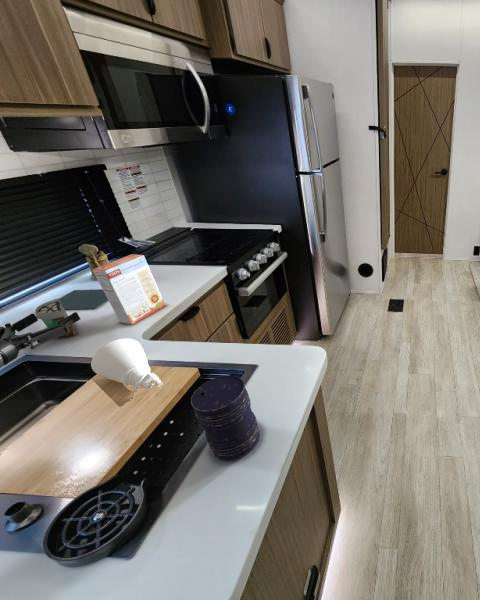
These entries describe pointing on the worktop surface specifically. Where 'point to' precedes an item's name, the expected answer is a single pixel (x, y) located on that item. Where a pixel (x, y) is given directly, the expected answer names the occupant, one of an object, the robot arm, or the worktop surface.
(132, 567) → the worktop surface
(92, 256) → the tan yellow lumpy piece
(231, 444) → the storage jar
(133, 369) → the rocket engine
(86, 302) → the side mat
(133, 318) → the cracker box
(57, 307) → the food container
